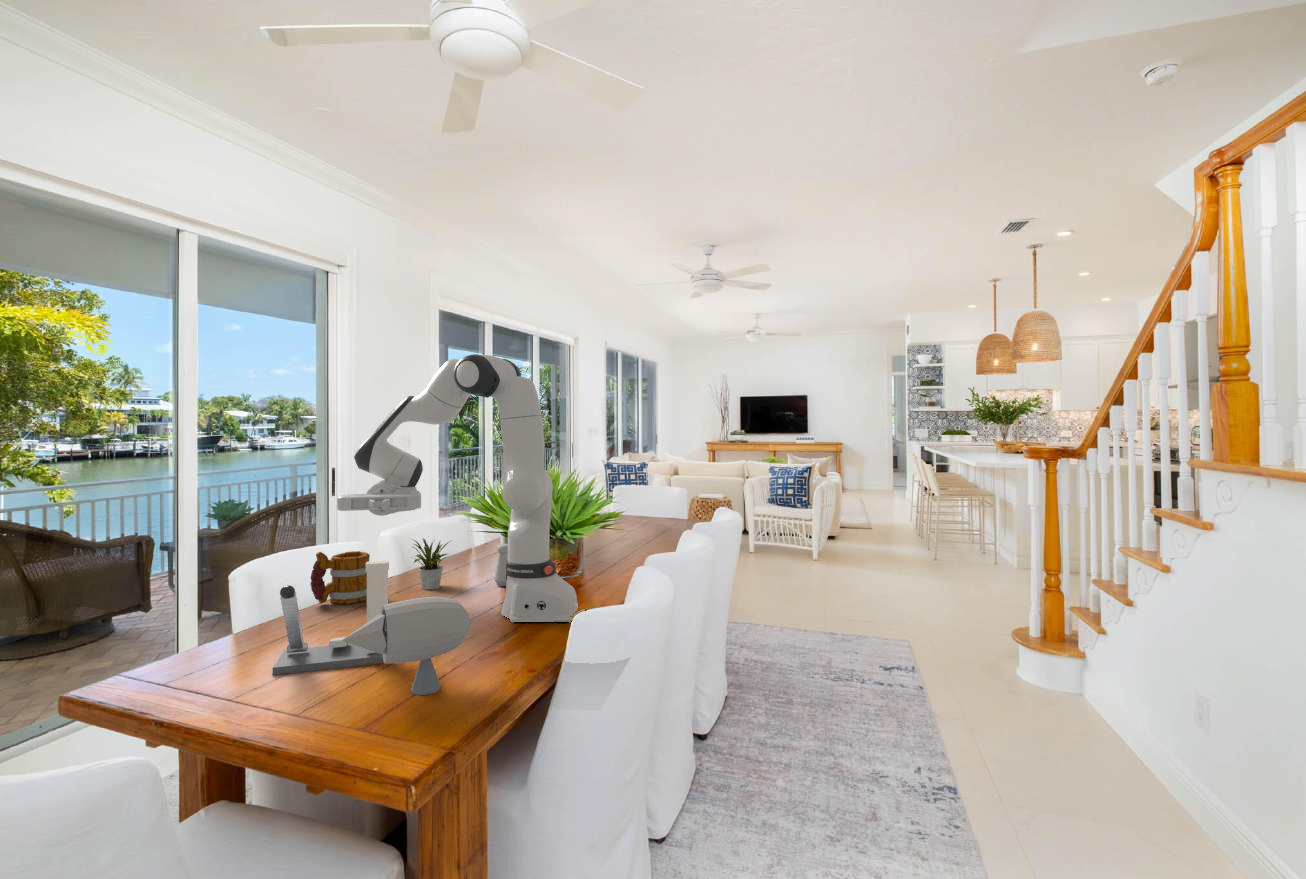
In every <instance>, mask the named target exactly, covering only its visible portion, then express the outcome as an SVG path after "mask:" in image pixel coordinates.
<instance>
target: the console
mask: <svg viewBox="0 0 1306 879" xmlns="http://www.w3.org/2000/svg"><path fill="white" fill-rule="evenodd" d="M376 664H377V665H378V664H385V663H384V660H383V655H382V654H378V653H367V649H364V648H361V647H358V646H356V645H353V644H350V643H349V644H348V645H347V646H345V647H335V648H329V645H320V646H311V647H310V646H309V647H308V650H307V651H305V652H295V653H287V649H284V650H283V652H282V653H281V654H280V656H279V658H278V659H277V661H276V662H275V663H274V665H273V667H272V676H276V675H283V674H284V675H285V674H294V673H295V674H296V673H302V672H313V671H323V670H330V669H338V668H348V667H351V668H352V667H358V666H367V665H376Z"/></svg>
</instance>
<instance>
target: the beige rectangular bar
mask: <svg viewBox="0 0 1306 879" xmlns="http://www.w3.org/2000/svg"><path fill="white" fill-rule="evenodd" d="M389 569H390V560H375V561H369V562H366V572H367V600H366V623H367V622H369V621H370V620H371V619H373V618H374V617H376V616H377V615H379V614H381V611H382V606H383V605H386V604H389V601H388V600H389V598H388V597H389V575H388V574H389ZM367 653H376V652H373V651H370V650H367Z"/></svg>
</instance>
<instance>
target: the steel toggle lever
mask: <svg viewBox="0 0 1306 879" xmlns="http://www.w3.org/2000/svg"><path fill="white" fill-rule="evenodd" d="M279 595H280V604H281V608H282V609H281V610H282V614H283V620H284V625H285V630H286V635H287V636H286V637H287V641H288V644H287V645H286V646H287V647H286V650H287V653H295V652H305V651H307V650H308V648H309V642H305V640H304V634H303V629H302V623H301V621H302V620H301V614H300V611H299V605H298V598H297V593H296V589H295V587H294V586H292V585H284V586H282V588H281V589H280V590H279Z"/></svg>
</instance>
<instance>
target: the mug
mask: <svg viewBox="0 0 1306 879" xmlns="http://www.w3.org/2000/svg"><path fill="white" fill-rule="evenodd" d="M315 557H316V560H315V562H314V563H313V566H312V568H313V570H312V571H311V574H310V580H311V581H310V583H309V584H310V587H311V592H312V594H313V596H314V598H315V600H316V601H318V603H320V604H324V603H326V602H327V600H328V598H329V602H330V603H331V604H334V605H338V604H339V605H349V604H350V605H353V604H357V603H363V602H365V601H366V602H367V572H366V562H370V557H371V556H370V553H368V552H364V551H359V550H357V551H356V550H355V551H346V552H341V553H337V554H334V555H332V557H331V558H330V559H329V558H328V556H327V555H326V554H325V553H323V552H322V551H318V552H316V554H315ZM329 569H330V570H329ZM327 570H329V571H330V572H329V573H330V576H331V582H328V583H326V584H325V580H324V577H325V575H326V573H327Z"/></svg>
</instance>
